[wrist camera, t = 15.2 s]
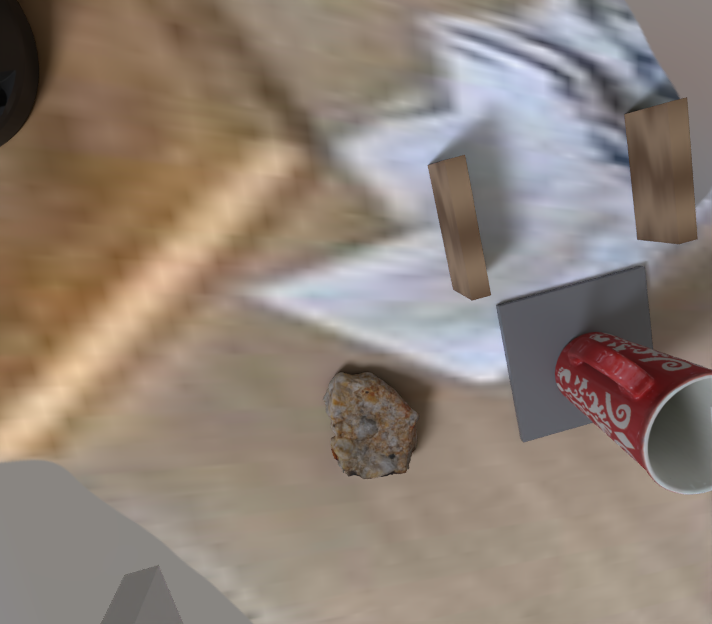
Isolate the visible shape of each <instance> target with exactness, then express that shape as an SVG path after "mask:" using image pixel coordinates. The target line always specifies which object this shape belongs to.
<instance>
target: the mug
mask: <svg viewBox="0 0 712 624" xmlns="http://www.w3.org/2000/svg"><path fill="white" fill-rule="evenodd" d="M555 380H556V383H557V386H558V388H559V390H560V391H561V393H562V394H563V395H564V396H565V397H566V398H567V399H568V400H569V401H570V402H571V403H572V404H574V405H575V406H576V407H577V408H578V409H579V410H580V411H581V412H583V413H584V414H585V415H586V416H587V417H588V418H589V419H590V420H591V421H592V422H593V423H594V424H596V425H597V426H598V427H599V428H600V429H601V430H602V431H604V432H605V433H606V434H607V435H608V436H609V437H610V438H611V439H612V440H613V441H615V442H616V443H617V444H618V445H619V446H620V447H621V448H622V449H623V450H624V451H625V452H626V453H628V454H629V455H630V456H631V457H632V458H633V459H634V460H635V461H637V462H638V463H639V464H640V465H641V466H642V467H643V468H644V469H645V470H646V471H647V473H648V474H649V475H650V477H651V478H652V479H653V480H654V481H655V482H656V483H657V484H658V485H660V486H661V487H663V488H665V489H667V490H669V491H671V492H675V493H679V494H700V493H705V492H708V491H711V490H712V420H711V406H712V370H711V369H708V368H705V367H703V366H700V365H697V364H694V363H692V362H689V361H686V360H683V359H680V358H677V357H673V356H670V355H667V354H665V353H662V352H659V351H656V350H653V349H650V348H648V347H645V346H642V345H639V344H636V343H633V342H630V341H628V340H625V339H622V338H619V337H617V336H614V335H611V334H607V333H602V332H590V333H586V334H583V335H580V336H579V337H577V338H575V339H573V340H572V341H571V342H570V343H569V344H568V345H567V346H566V347H565V348H564V349H563V350H562V352H561V354H560V356H559V357H558V360H557V363H556V367H555Z"/></svg>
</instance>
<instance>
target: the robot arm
mask: <svg viewBox="0 0 712 624" xmlns="http://www.w3.org/2000/svg"><path fill="white" fill-rule="evenodd" d="M38 78H39V64H38V54H37V49H36V44H35V40H34V36H33V33H32V31H31V28H30V25H29V23H28V20H27V18H26V16H25V14H24V12H23V10H22V9H21V7H20V5H19V3H18V2H17V0H0V146H2V145H3V144H4V143H6V142H7V141H8V140H9V139H10V138H12V137H13V136H14V135H15V134H16V132H17V131H18V130H19V129H20V128H21V126H22V125H23V123H24V122H25V120H26V119H27V117H28V115H29V113H30V111H31V109H32V106H33V103H34V100H35V97H36V93H37V87H38ZM711 420H712V406H711ZM101 624H183V622H182V619H181V617H180V615H179V612H178V610H177V608H176V605H175V603H174V600H173V598H172V596H171V593H170V591H169V589H168V586H167V584H166V581H165V579H164V577H163V574H162V572H161V570H160V567H159V565H158V566H154V567H151V568H147V569H144V570H141V571H137V572H133V573H130V574H126V575H124V577H123V580H122V581H121V584H120V586H119V588H118V590H117V592H116V594H115V596H114V598H113V600H112V602H111V604H110V606H109V608H108V610H107V612H106V614H105V616H104V618H103V620H102V622H101Z"/></svg>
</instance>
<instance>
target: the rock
mask: <svg viewBox="0 0 712 624" xmlns="http://www.w3.org/2000/svg"><path fill="white" fill-rule="evenodd" d="M323 400H324V402H325V404H326V413H327V414H328V416H329V417H330V419H331V428H332V430H333V432H334V434H335V436H334V437H332V438H331V448H332V449H331V450H332V453H333V456H334V458H335V459H336V460H338V465H339V466H340V467H341V468H342V469H343V473H344V471H345V473H346V474H347V475H348V476H352V475H357V476H360V477H361V478H363V479H371V478H377V477H384V476H388V475H390V474H391V475H393V474H402V473H406V471H407V469H409V463H410V460H411V456H412V452H413V451H414V450H415V448H416V445H417V432H416V427H415V424H416V422H417V421H418V419H419V414H418V413H417V412H415V411H414V410H413V409H412V408H410V407H409V405H408V404H407V402H406V401H405V400H403V399H402V398H401V396H400V395H399V394H398V393H397V391H396V390H395V389H393V388H392V387H391V386H388V385H387V384H386V383H385V382H384V381H383V380H382V379H380V378H378V377H377V376H375V375H374V374H373V373H371V372H363V373H361V374H354V375H351V374H346V373H343V372H340V373H338V374H336V375H335V377H333V379H332V380H331V381H330V383H329V388H328V390H327V393H326V394H325V396H324V398H323Z"/></svg>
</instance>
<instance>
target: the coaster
mask: <svg viewBox="0 0 712 624" xmlns="http://www.w3.org/2000/svg"><path fill="white" fill-rule="evenodd" d="M496 307H497V313H498V318H499V323H500V329H501V334H502V340H503V345H504V351H505V356H506V362H507V367H508V372H509V378H510V383H511V389H512V394H513V400H514V405H515V411H516V416H517V421H518V427H519V432H520V438H521V440H522V441H523V442H527V441H530V440H534V439H537V438H541V437H544V436H548V435H551V434H555V433H558V432H562V431H565V430H569V429H572V428H576V427H579V426H583V425H586V424H590V423H593V422H592V421H591V420H590V419H589V418H588V417H587V416H586V415H585V414H584V413H583V412H581V411H580V410H579V409H578V408H577V407H576V406H575V405H574V404H572V403H571V402H570V401H569V400H568V399H567V398H566V397H565V396H564V395H563V394H562V393H561V391H560V390H559V388H558V386H557V383H556V380H555V367H556V363H557V360H558V357H559V356H560V354H561V352H562V350H563V349H564V348H565V347H566V346H567V345H568V344H569V343H570V342H571V341H572V340H573V339H575V338H577V337H579V336H580V335H583V334H586V333H590V332H602V333H607V334H611V335H614V336H617V337H619V338H622V339H625V340H628V341H630V342H633V343H636V344H639V345H642V346H645V347H648V348H650V349H653V343H652V333H651V324H650V314H649V304H648V294H647V284H646V275H645V267H643V266H638V267H635V268H631V269H627V270H624V271H620V272H616V273H613V274H609V275H605V276H602V277H598V278H594V279H591V280H587V281H583V282H580V283H576V284H572V285H569V286H565V287H561V288H558V289H554V290H550V291H547V292H543V293H539V294H536V295H532V296H528V297H525V298H521V299H517V300H514V301H510V302H506V303H503V304H499V305H496Z"/></svg>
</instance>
